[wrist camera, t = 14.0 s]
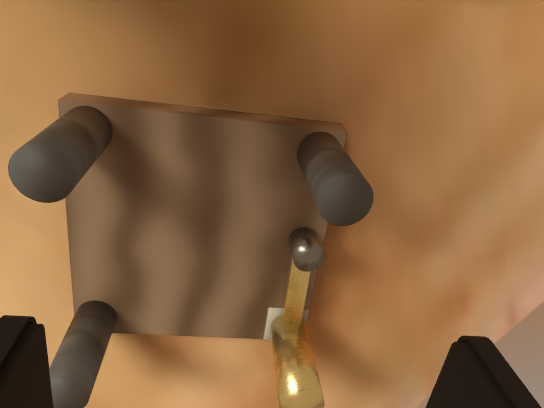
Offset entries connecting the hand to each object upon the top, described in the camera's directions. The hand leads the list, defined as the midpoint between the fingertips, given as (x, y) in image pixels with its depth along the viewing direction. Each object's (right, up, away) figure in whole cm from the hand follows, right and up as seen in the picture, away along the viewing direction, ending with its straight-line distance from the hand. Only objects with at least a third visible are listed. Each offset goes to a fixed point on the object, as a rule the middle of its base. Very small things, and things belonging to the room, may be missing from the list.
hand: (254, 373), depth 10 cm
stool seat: (-6, +2, +30) cm, 31 cm away
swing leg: (+3, -4, +31) cm, 31 cm away
